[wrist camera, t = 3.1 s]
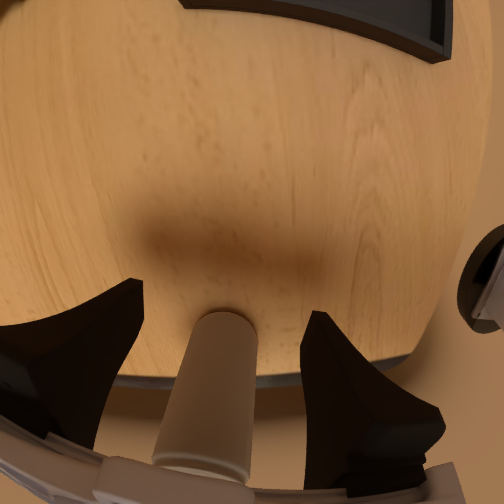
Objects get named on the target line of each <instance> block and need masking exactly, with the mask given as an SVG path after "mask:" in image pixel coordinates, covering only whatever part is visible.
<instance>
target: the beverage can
mask: <svg viewBox="0 0 504 504" xmlns="http://www.w3.org/2000/svg"><path fill="white" fill-rule="evenodd" d="M257 347H258V340H257V335H256V333H255V331H254V329H253V327H252V326H251V325H250V323H249V322H248V321H247V320H245V319H244V318H243V317H241V316H239V315H237V314H234V313H230V312H214V313H210V314H208V315H206V316H204V317H202V318H201V319H200V320H199V321H198V322H197V323H196V325H195V327H194V328H193V331H192V334H191V337H190V340H189V343H188V346H187V349H186V352H185V355H184V358H183V360H182V363H181V366H180V369H179V372H178V375H177V378H176V381H175V384H174V387H173V390H172V393H171V396H170V399H169V402H168V406H167V409H166V412H165V415H164V419H163V422H162V425H161V428H160V431H159V435H158V438H157V441H156V445H155V448H154V452H153V455H152V465H155V466H158V467H162V468H167V469H171V470H175V471H180V472H184V473H189V474H194V475H200V476H206V477H212V478H218V479H224V480H228V481H233V482H238V483H240V484H243V485H245V484H246V483H247V481H248V480H249V478H250V467H251V451H252V433H253V417H254V400H255V382H256V365H257Z"/></svg>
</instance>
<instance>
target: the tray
mask: <svg viewBox="0 0 504 504" xmlns="http://www.w3.org/2000/svg"><path fill="white" fill-rule="evenodd" d="M178 1H179V2H180V3H181V4H182V5H183V7H184V8H193V9H222V10H235V11H246V12H255V13H263V14H270V15H276V16H282V17H288V18H294V19H299V20H304V21H308V22H313V23H317V24H321V25H325V26H329V27H333V28H337V29H340V30H344V31H347V32H351V33H354V34H357V35H360V36H364V37H367V38H370V39H372V40H375V41H378V42H381V43H384V44H386V45H389V46H392V47H394V48H397V49H399V50H402V51H404V52H407V53H409V54H411V55H414V56H416V57H418V58H420V59H422V60H425V61H427V62H429V63H431V64H435V63H438V62H442V61H446V60H450V59H451V52H452V34H453V0H178Z"/></svg>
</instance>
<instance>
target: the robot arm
mask: <svg viewBox="0 0 504 504" xmlns="http://www.w3.org/2000/svg"><path fill="white" fill-rule="evenodd" d="M471 316H472V318H474V319H486V320H494V321H495V322H496V323H497V324H498V325H499V327H500V328H501V329H502V330H503V331H504V244H503V245H502V246H501V248H500V251H499V254H498V256H497V259H496V261H495V263H494V266H493V268H492V271H491V273H490V275H489V277H488V280H487V282H486V284H485V286H484V288H483V290H482V293H481V295H480V297H479V299H478V301H477V303H476V305H475V307H474V309H473V311H472V313H471ZM143 321H144V301H143V281H142V280H138V279H133V278H129V279H127V280H125V281H123V282H121V283H119V284H118V285H116V286H114V287H112V288H111V289H109V290H107V291H105V292H104V293H102V294H100V295H98V296H96V297H94V298H92V299H91V300H89V301H87V302H85V303H83V304H81V305H79V306H76V307H74V308H72V309H70V310H67V311H65V312H62V313H59V314H57V315H53V316H50V317H47V318H43V319H40V320H36V321H32V322H27V323H22V324H16V325H6V326H0V472H1V473H3V474H4V475H5V476H7V477H8V478H10V479H11V480H13V481H14V482H15V483H17V484H18V485H20V486H21V487H23V488H24V489H26V490H27V491H29V492H31V493H32V494H34V495H35V496H37V497H39V498H41V499H42V500H44V501H46V502H48V503H49V504H466V502H465V498H464V495H463V492H462V488H461V485H460V482H459V479H458V476H457V473H456V470H455V467H454V464H453V462H449V463H445V464H441V465H437V466H433V467H431V468H428V469H426V470H424V468H423V464H424V463H425V462H426V457H425V453H426V452H427V451H428V450H429V449H430V448H431V447H432V446H433V445H434V444H435V443H436V442H437V441H438V440H439V439H440V438H441V437H442V435H443V434H444V432H445V430H446V425H445V422H444V420H443V417H442V415H441V413H440V410H439V408H438V407H435V406H433V405H431V404H429V403H427V402H425V401H423V400H421V399H419V398H417V397H415V396H414V395H412V394H410V393H409V392H407V391H405V390H404V389H402V388H401V387H399V386H398V385H396V384H395V383H393V382H392V381H391V380H389V379H388V378H387V377H386V376H384V375H383V374H382V373H381V372H379V371H378V370H377V369H376V368H375V367H374V366H373V365H372V364H371V363H369V362H368V361H367V360H366V359H365V358H364V357H363V355H362V354H361V353H360V352H359V351H358V350H357V349H356V348H355V347H354V346H353V344H352V343H351V342H350V341H349V340H348V339H347V337H346V336H345V335H344V334H343V332H342V331H341V330H340V329H339V327H338V326H337V325H336V324H335V322H334V321H333V320H332V318H331V317H330V316H329V315H328V314H327V313H326V312H321V311H314V310H312V313H311V316H310V319H309V322H308V325H307V328H306V331H305V334H304V336H303V339H302V342H301V345H300V369H301V377H302V384H303V390H304V398H305V405H306V415H307V448H306V449H307V450H306V451H307V452H306V467H305V479H304V489H303V490H280V489H261V488H249V487H247V486H245V485H243V484H240V483H238V482H233V481H228V480H224V479H218V478H212V477H206V476H200V475H194V474H189V473H184V472H180V471H175V470H171V469H167V468H162V467H158V466H155V465H151V464H147V463H144V462H140V461H137V460H134V459H128V458H124V457H120V456H111V457H108V456H105V455H103V454H100V453H97V452H95V451H93V447H94V442H95V438H96V434H97V430H98V426H99V423H100V418H101V415H102V412H103V409H104V406H105V403H106V400H107V397H108V394H109V392H110V389H111V387H112V384H113V381H114V379H115V377H116V375H117V373H118V371H119V369H120V368H121V366H122V364H123V362H124V360H125V358H126V357H127V355H128V353H129V351H130V349H131V348H132V346H133V344H134V342H135V340H136V338H137V336H138V334H139V331H140V329H141V326H142V323H143Z"/></svg>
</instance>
